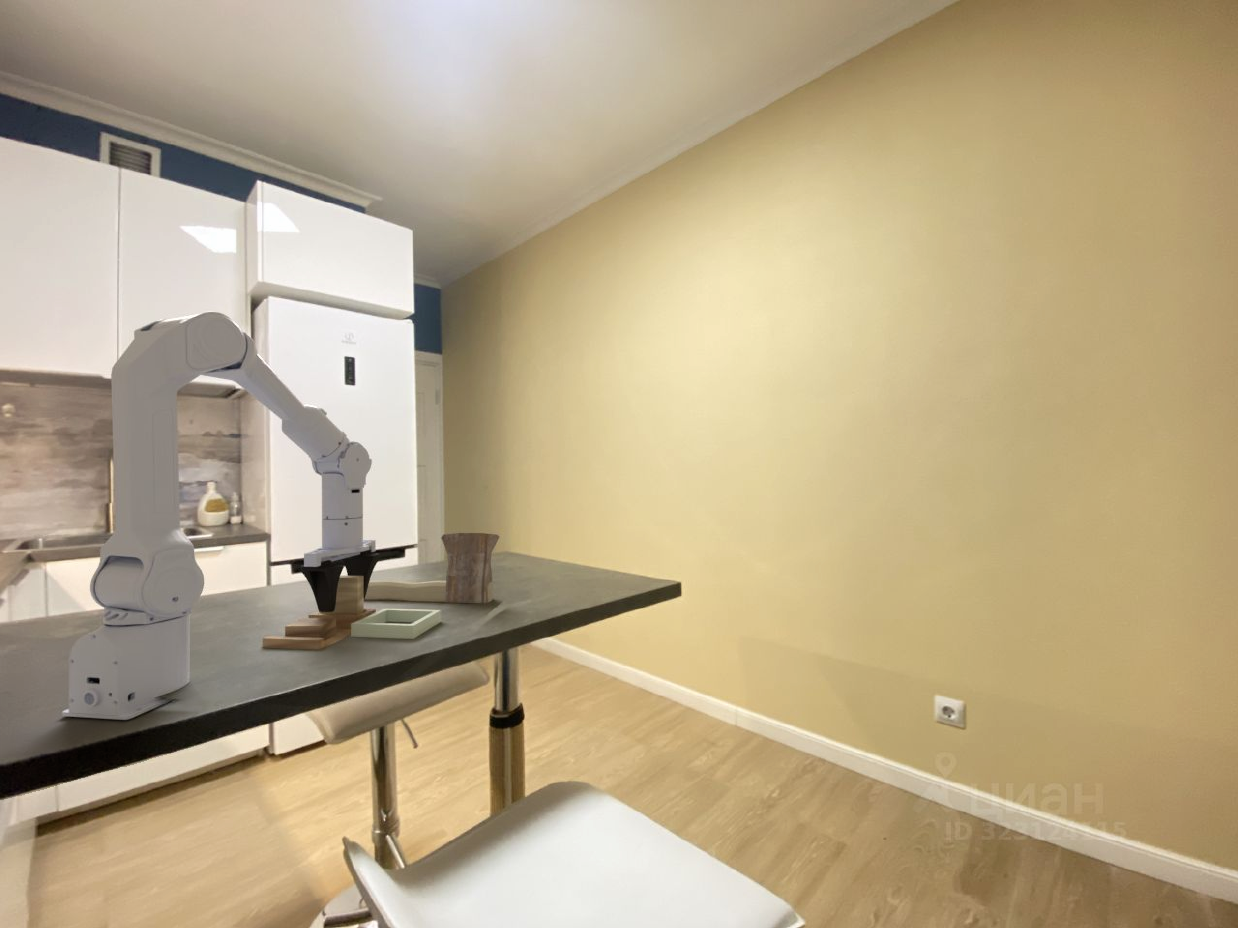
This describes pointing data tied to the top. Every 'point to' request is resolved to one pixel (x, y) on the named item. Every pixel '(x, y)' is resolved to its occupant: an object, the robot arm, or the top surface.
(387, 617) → the tray
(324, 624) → the offcut top
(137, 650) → the robot arm
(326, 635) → the offcut low
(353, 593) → the upright wooden block
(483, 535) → the hand axe
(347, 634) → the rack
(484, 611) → the top surface
